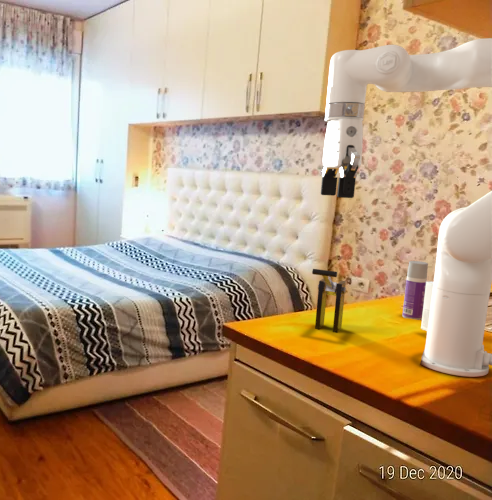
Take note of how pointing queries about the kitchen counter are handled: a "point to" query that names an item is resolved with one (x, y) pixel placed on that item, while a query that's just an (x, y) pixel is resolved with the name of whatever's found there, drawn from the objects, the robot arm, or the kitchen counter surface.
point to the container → (415, 290)
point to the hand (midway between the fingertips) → (336, 196)
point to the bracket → (338, 305)
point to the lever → (328, 280)
